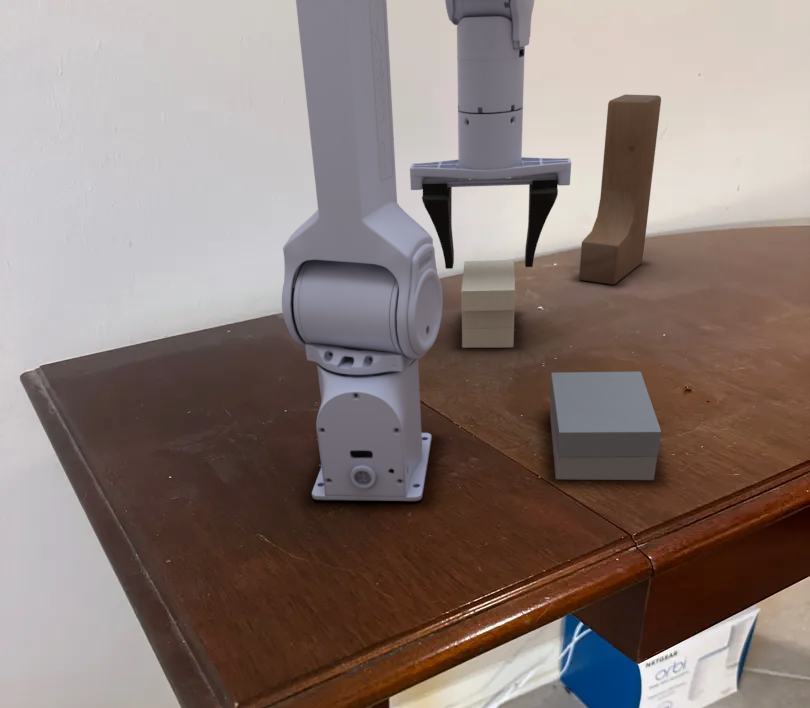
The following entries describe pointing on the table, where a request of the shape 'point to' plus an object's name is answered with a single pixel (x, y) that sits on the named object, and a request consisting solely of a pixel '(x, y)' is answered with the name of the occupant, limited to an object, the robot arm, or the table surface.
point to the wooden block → (623, 190)
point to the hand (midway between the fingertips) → (489, 264)
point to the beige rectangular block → (488, 286)
